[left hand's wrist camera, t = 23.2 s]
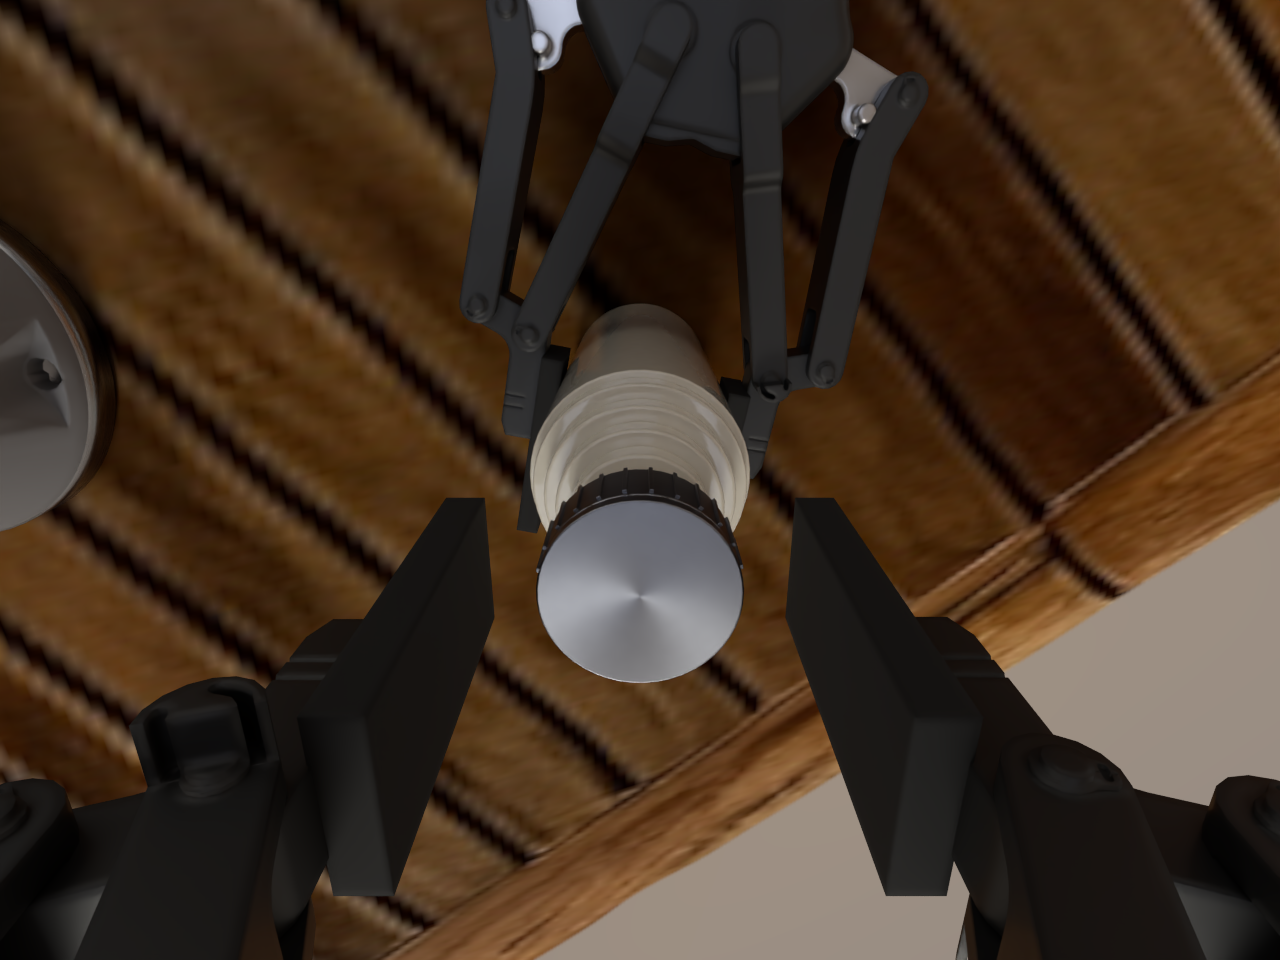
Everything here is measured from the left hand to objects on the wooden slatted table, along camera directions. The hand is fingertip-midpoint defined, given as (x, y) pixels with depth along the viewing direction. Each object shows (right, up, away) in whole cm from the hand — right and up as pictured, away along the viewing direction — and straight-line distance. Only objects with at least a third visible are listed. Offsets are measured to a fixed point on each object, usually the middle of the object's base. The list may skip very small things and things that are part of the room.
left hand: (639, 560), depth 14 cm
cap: (0, 0, -1) cm, 1 cm away
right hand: (-1, 0, +13) cm, 14 cm away
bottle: (0, +7, +18) cm, 19 cm away
